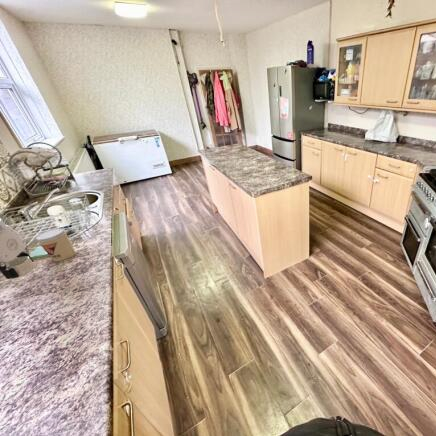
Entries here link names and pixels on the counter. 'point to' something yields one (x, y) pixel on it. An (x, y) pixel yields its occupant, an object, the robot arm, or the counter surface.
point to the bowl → (22, 265)
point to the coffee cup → (56, 244)
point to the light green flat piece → (39, 253)
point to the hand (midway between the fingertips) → (21, 270)
